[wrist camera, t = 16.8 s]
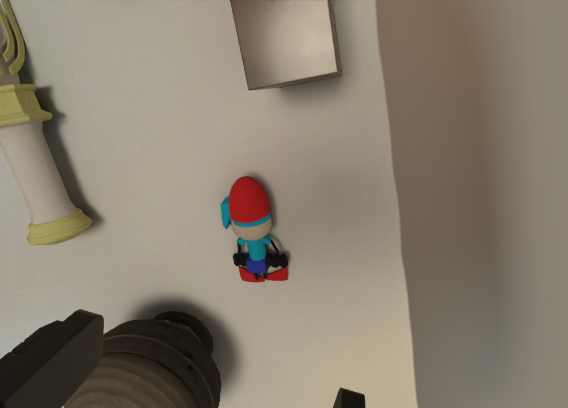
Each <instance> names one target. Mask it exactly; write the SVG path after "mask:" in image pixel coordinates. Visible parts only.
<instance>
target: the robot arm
mask: <svg viewBox="0 0 568 408" xmlns="http://www.w3.org/2000/svg"><path fill="white" fill-rule="evenodd" d="M103 330H104V318H103V316H102V315H99V314H95V313H92V312H88V311H85V310H82V309H79V310H77V311H75V312H74V313H73V314H72V315H70V316H69V317H68V318H67V319H66V320H64V321H63V322H62V321H59V320H57V321H55V322H52V323H50V324H48V325H46V326H43V327H41V328H39V329H38V330H37V331H35V332H34V333H33V334H31V335H30V336H29V337H28V338H26V339H25V341H24V342H21V343H20V344H19V345H18V346H16V347H15V348H14V349H13V350H12V352H9V353H7V354H6V355H5V356H4V357H2V358H1V359H0V408H61V407H62V406H63V405H64V404H65V403H66V402H67V401H68V399H69V398H70V397H71V396H72V395H73V394H74V393H75V392H76V390H77V389H78V388H79V387H80V386H81V385H82V384H83V383H84V381H85V380H86V379H87V378H88V377H89V376H90V375H91V374H92V372H93V371H94V370H95V369H96V367H97V365H98V364H99V361H100V359H101V356H102V352H103ZM333 408H365V396H364V394H361V393H358V392H354V391H351V390H348V389H344V388H340V389H339V391H338V394H337V397H336V400H335V403H334V406H333Z"/></svg>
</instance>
